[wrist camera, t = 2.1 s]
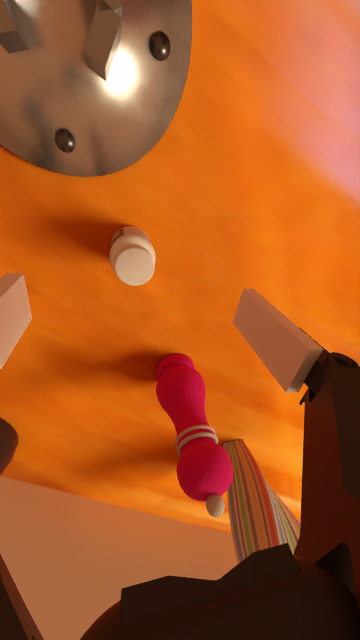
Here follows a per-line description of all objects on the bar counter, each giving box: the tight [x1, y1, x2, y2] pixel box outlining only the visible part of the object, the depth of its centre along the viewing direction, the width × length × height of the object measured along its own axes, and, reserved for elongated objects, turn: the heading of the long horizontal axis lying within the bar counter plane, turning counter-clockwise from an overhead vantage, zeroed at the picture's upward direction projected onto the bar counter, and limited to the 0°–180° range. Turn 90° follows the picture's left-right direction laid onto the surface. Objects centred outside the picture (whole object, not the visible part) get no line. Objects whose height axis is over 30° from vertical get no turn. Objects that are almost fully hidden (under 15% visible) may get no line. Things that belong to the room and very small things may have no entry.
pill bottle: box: [110, 226, 156, 286], centre depth 23 cm, size 4×4×8 cm
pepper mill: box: [156, 354, 233, 517], centre depth 30 cm, size 7×7×20 cm
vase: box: [223, 439, 301, 564], centre depth 43 cm, size 14×14×30 cm
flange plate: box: [0, 0, 192, 177], centre depth 16 cm, size 20×20×4 cm
